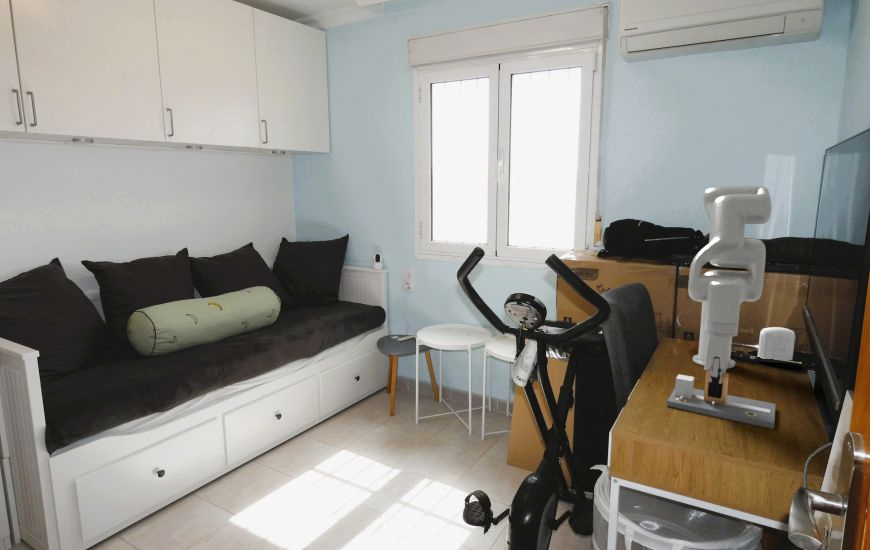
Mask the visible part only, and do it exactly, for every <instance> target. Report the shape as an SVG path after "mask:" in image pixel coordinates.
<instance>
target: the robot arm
mask: <svg viewBox="0 0 870 550" xmlns="http://www.w3.org/2000/svg"><path fill="white" fill-rule="evenodd" d="M702 201H703V202H702V203H703V206H704V209H705V212H706V214H707V217H708V221H709V226H710V227H709V229H710V230H709V240H708V243H707V244H706V245H705V246H704V247H703V248H701V249H700V250H699V251H698V252H697V253H696V255H695V256H694V257H693V258H692V259H693V260H692V262H691V264H690V268H689V276H688V284H687V285H688V286H687V287H688V288H687V290H688V296H689V298H690V299H691V300H693V301H695V302H700V303H701V315H700V317H701V318H700V331H699V340H698V343H699V344H698V353H697V354H696V355H695V354H694V355H693V356H692V361H693V362H694V363H695V364H698V365H699V366H702V367H704V368H703V370H704V371H706V372H707V371H710V380H709V384H708V396H709V397H714V398H719V399H721V397H722V386H723V384H722V374H723V373H726V371H727V369H732V368H735V366H736V361H735V360H733V359H731V353H732V344H733V342H732V341H733V337H737V336H738V332H739V321H740V311H741V304H742V303H743V302H756V301H758V300H760V298H761V297H762V293H763V289H764V279H765V268H766V255H767V254H766V250H767V249H766V245H765V243H764V242H763V241H762V240H760V239H758V238H745V228H746V225H764V224H766V223H768V222H769V220H770V218H771V214H772V199H771V195H770V191H769V188H767V187H765V186H763V185H719V186H718V185H717V186H711V187H709V188H706V189H705V190H704V192H703V196H702ZM707 263H709V264H710V265H712V266H715V267H720V268H735V269H744V270H747V271H740V270H739V271H738V270H737V271H736V270H735V271H734V270H725V269H724V270H723V269H722V270H721V269H719V270H718V269H715V270H714V269H713V270H707V271H706V272H705V273H703V274H701V270H702V268H703V266H705V264H707ZM718 374H720V377H719V376H718Z"/></svg>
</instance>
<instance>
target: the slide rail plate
mask: <svg viewBox="0 0 870 550" xmlns="http://www.w3.org/2000/svg"><path fill="white" fill-rule="evenodd" d="M694 386H695V377H694V376H690V375H684V374H677V376H676V377H675V385H674V389H672V393H671V394H670V396H669V397H668V399H667V402H666V407H668V406H671V407H670V408H673V407H675V408H674V409H678V408H679V409H678V410H682V409H683V411H687V410H688V411H687V412H693V413H697V414H698V413H699V414H702V415H707V416H712V417H717V418H719V419H720V418H721V419H726V420H730V421H733V422H734V421H736V422H739V423H740V422H741V423H743V424H744V423H745V424H749V425H754V426H759V427H764V428H768V429H773V430H774V429H775V421H776V420H775V419H776V403H772V402H768V401H762V400H757V399H751V398H747V397H740V396H736V395H731V394H727V399H726V402H725V404H723V403H718V402H715V404H714V405H712V401H707V400H704V389H699V388H694Z"/></svg>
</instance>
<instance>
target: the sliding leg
mask: <svg viewBox="0 0 870 550" xmlns="http://www.w3.org/2000/svg"><path fill="white" fill-rule="evenodd" d="M710 371H711V370H707V371H706V373H705V377H704V378H705V379H704V381H705V382H704V388H703V390H704V400H707V401H712V405H714V404H715V402H718V403H723V404H725V402H726V399H727V395H728V385H729V376H730V374H729V373H726V372H725V373H723V374H722V384H723V386H722V397H721V399H719V398H714V397H709V396H708V384H709V380H710ZM718 376H719V377H720V374H718Z"/></svg>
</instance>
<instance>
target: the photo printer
mask: <svg viewBox="0 0 870 550" xmlns="http://www.w3.org/2000/svg"><path fill="white" fill-rule="evenodd" d="M758 340H759V341H758V350H757V357H760V358H762V359H774V360H792V361H793V356H794V347H795V340H796V333H795V331H793V330H791V329H789V328H786V327H779V326H772V327H765V328H762V329H761V330H760V332H759V339H758Z"/></svg>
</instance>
